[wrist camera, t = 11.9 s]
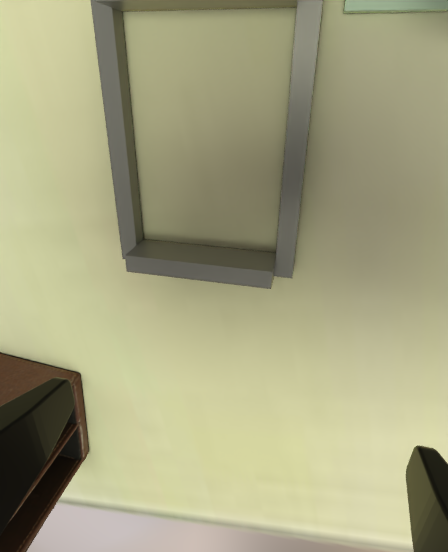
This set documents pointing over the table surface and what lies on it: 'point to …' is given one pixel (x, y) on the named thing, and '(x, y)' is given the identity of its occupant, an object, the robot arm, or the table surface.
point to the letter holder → (62, 461)
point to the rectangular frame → (118, 116)
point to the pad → (394, 6)
